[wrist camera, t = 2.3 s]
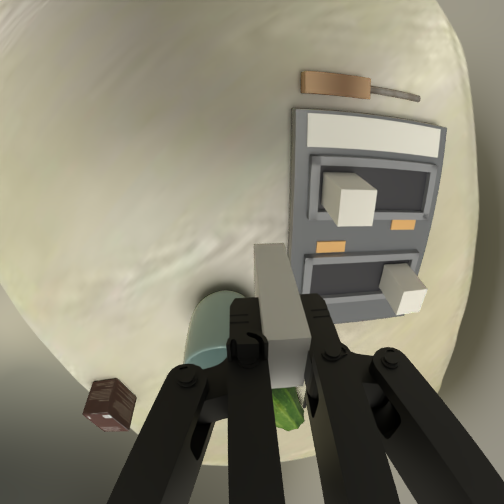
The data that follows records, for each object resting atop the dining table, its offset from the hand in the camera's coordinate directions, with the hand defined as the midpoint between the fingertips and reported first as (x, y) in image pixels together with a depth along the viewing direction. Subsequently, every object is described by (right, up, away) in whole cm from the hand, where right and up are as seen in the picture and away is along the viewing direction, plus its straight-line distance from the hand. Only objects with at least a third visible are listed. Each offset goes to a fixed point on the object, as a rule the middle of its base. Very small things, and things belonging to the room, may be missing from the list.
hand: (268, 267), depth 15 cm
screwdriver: (+9, +16, +8) cm, 21 cm away
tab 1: (+7, +7, +11) cm, 14 cm away
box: (-25, -23, +29) cm, 44 cm away
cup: (-4, -6, +20) cm, 21 cm away
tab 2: (+15, -2, +16) cm, 22 cm away
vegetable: (+3, -21, +29) cm, 36 cm away
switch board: (+11, +3, +15) cm, 19 cm away
